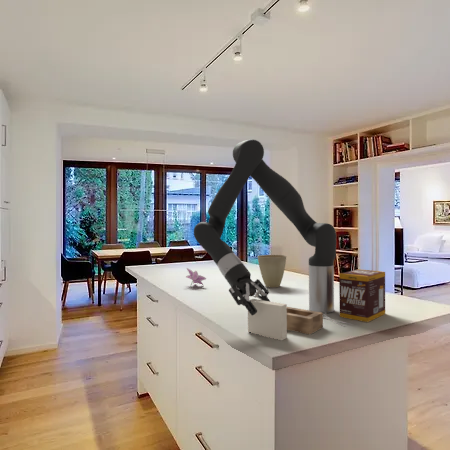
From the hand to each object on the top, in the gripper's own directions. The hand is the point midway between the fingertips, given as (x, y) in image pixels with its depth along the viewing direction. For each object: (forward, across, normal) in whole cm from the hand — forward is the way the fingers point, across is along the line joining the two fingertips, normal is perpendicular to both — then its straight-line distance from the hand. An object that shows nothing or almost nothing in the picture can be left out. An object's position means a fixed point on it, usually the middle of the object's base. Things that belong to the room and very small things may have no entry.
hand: (263, 310), depth 109 cm
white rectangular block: (+6, 0, +4) cm, 7 cm away
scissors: (+11, +28, 0) cm, 30 cm away
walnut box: (+6, +13, +4) cm, 15 cm away
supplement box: (+16, +40, -6) cm, 43 cm away
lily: (-46, +43, +57) cm, 85 cm away
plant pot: (-24, +68, +34) cm, 79 cm away
